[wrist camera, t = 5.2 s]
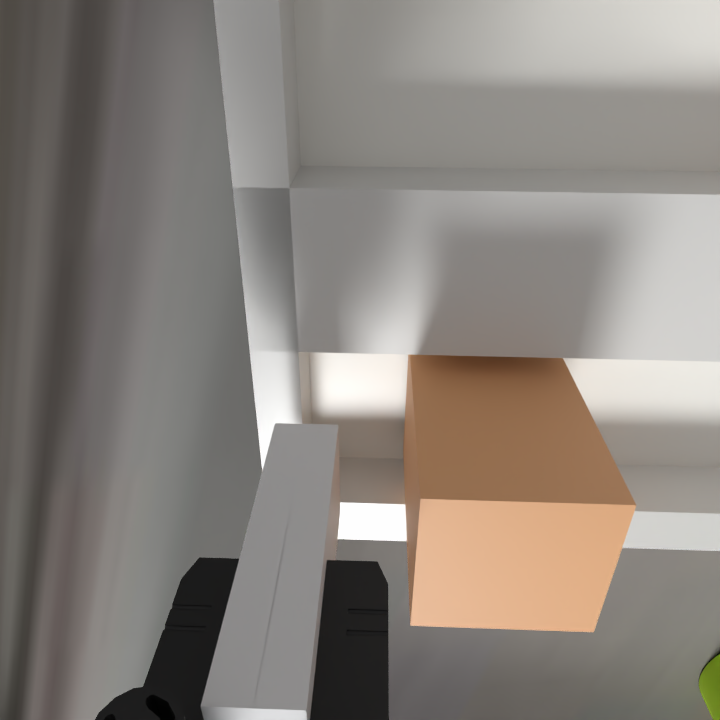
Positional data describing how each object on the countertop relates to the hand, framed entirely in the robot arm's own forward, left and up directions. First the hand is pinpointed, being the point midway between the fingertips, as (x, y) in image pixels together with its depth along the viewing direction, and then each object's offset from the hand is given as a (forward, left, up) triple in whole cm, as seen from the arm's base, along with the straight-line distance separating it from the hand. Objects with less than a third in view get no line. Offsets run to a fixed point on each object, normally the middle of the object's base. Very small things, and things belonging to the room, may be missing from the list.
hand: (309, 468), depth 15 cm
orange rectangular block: (+4, 0, -3) cm, 5 cm away
